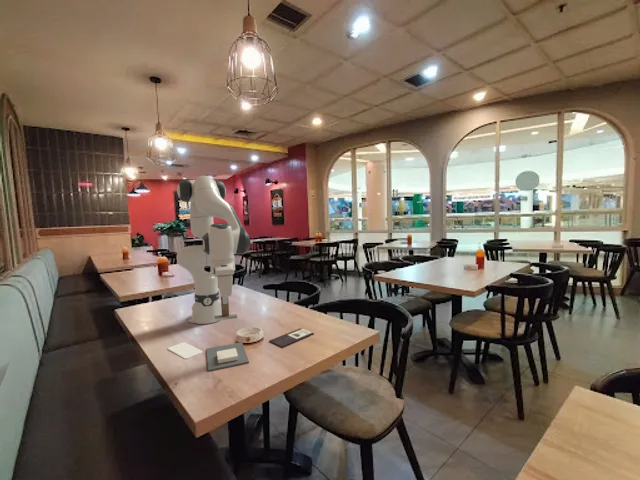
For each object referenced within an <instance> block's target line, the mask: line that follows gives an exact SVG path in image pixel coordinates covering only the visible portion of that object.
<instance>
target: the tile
mask: <svg viewBox="0 0 640 480" xmlns="http://www.w3.org/2000/svg"><path fill="white" fill-rule="evenodd" d="M217 359H218V364H220V363H225V362H230V361H235V360H238V354H237V351H236V348H233V349H228V350H222V351H217Z"/></svg>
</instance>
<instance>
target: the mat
mask: <svg viewBox="0 0 640 480" xmlns="http://www.w3.org/2000/svg"><path fill="white" fill-rule="evenodd" d="M233 348H236V351H237V354H238V360H235V361H230V362H225V363H220V364H218V359H217V351H222V350H228V349H233ZM206 359H207V360H206V361H207V372H213V371H218V370H222V369H227V368H230V367H237V366H240V365H246V364H249V363H250V361H249V358H248V355H247V351H246V350H245V347H244V345H243V342H242V341H240V342H236V343H230V344H224V345H219V346H213V347H208V348H206Z"/></svg>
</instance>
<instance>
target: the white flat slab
mask: <svg viewBox="0 0 640 480" xmlns="http://www.w3.org/2000/svg"><path fill="white" fill-rule="evenodd" d="M167 350H168V351H170V352H171V353H173V354H175V355H177V356H178V357H181V358H183V359H184V360H189V359H191V358H192V357H193V358H194V357H195V356H198V355H200V354H201V355H202V353H203V350H201V349H199V348H197V347H195V346H193V345H192V344H189V343H187V342H185V341H183V342H180V343H178V344H174V345H173V346H169V347H168V348H167Z"/></svg>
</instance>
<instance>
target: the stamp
mask: <svg viewBox="0 0 640 480" xmlns="http://www.w3.org/2000/svg"><path fill="white" fill-rule="evenodd" d="M220 300H221V309H222V314H220V315H214V319H215V321H217V322H220V321H226V320H233V319H238V315H237V312H230V307H229V302H228V304H223V300H222V297H221V296H220Z"/></svg>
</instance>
